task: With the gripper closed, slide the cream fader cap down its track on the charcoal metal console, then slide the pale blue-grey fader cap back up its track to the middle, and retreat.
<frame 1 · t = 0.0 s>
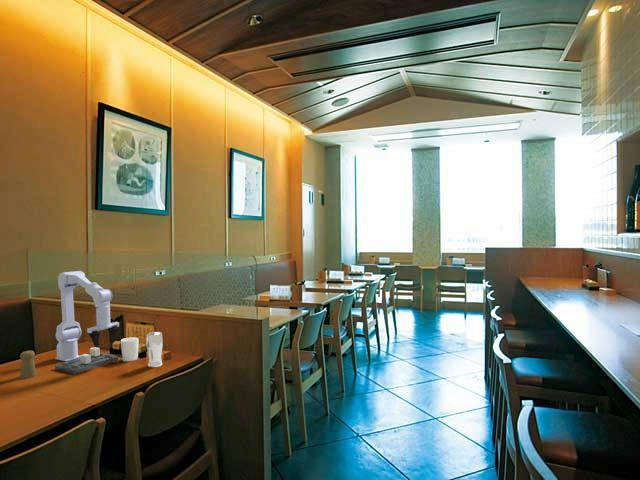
hand: (104, 344, 187), 10 cm above the table, fingers open, 7 cm apart
fader bluegrey: (85, 358, 186), point 4 cm above the table, slide at 9.0 cm
beer glass: (155, 365, 187), on the table
fader cream: (94, 351, 197), point 4 cm above the table, slide at 0.0 cm
tan bulb-headed cylinder: (28, 376, 176), on the table
white cup: (130, 359, 197), on the table
console: (87, 364, 190), on the table
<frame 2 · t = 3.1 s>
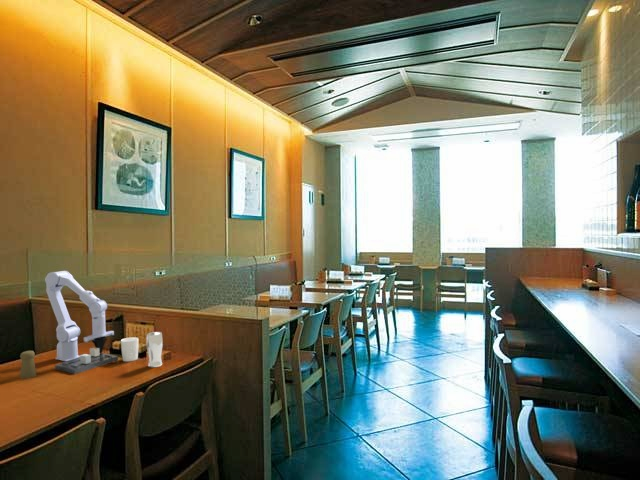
hand: (99, 352, 199), 3 cm above the table, fingers closed
fader cream: (94, 351, 197), point 4 cm above the table, slide at 0.2 cm, touching gripper
everything else where it was.
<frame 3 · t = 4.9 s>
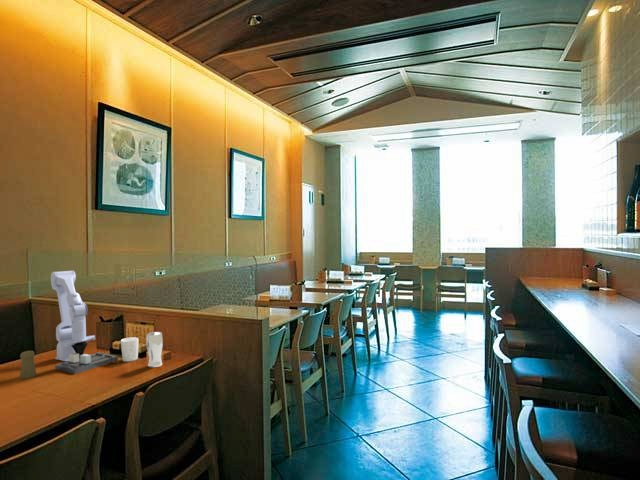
hand: (79, 358, 190), 3 cm above the table, fingers closed
fader cream: (74, 357, 188), point 4 cm above the table, slide at 10.1 cm, touching gripper
everything else where it was.
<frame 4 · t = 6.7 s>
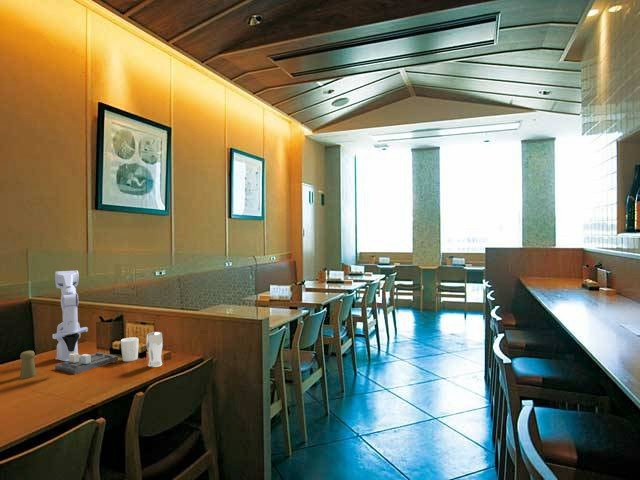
hand: (71, 351, 180), 9 cm above the table, fingers closed
fader cream: (74, 357, 188), point 4 cm above the table, slide at 10.1 cm
everything else where it was.
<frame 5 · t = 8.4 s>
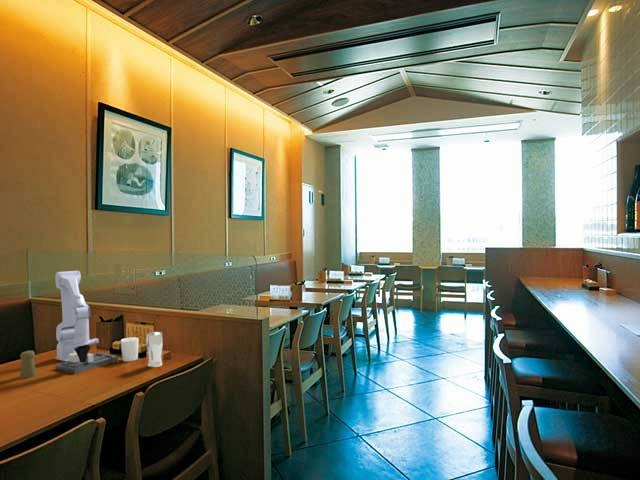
hand: (82, 362, 185), 3 cm above the table, fingers closed
fader bluegrey: (88, 357, 187), point 4 cm above the table, slide at 7.7 cm, touching gripper
everything else where it was.
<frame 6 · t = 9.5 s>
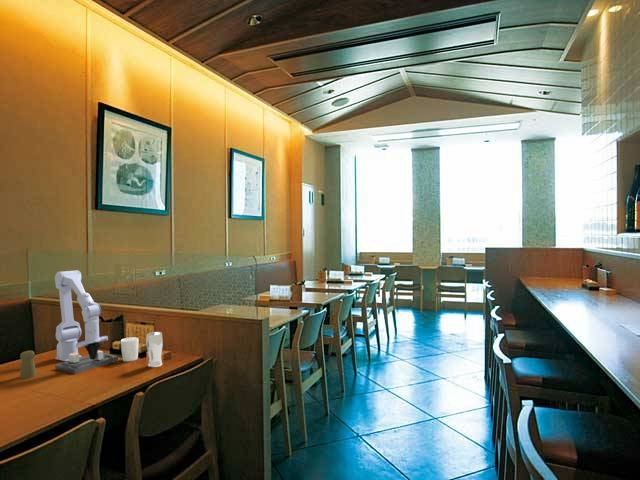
hand: (92, 359, 189), 3 cm above the table, fingers closed
fader bluegrey: (98, 355, 191), point 4 cm above the table, slide at 2.9 cm, touching gripper
everything else where it was.
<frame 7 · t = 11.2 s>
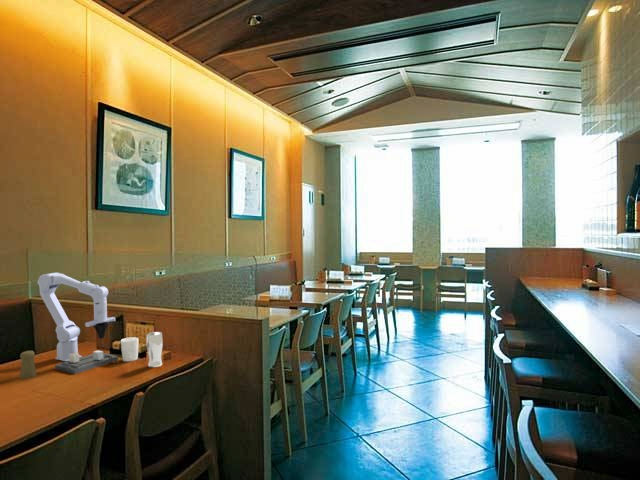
hand: (101, 338, 200), 10 cm above the table, fingers closed
fader bluegrey: (98, 355, 191), point 4 cm above the table, slide at 2.9 cm
everything else where it was.
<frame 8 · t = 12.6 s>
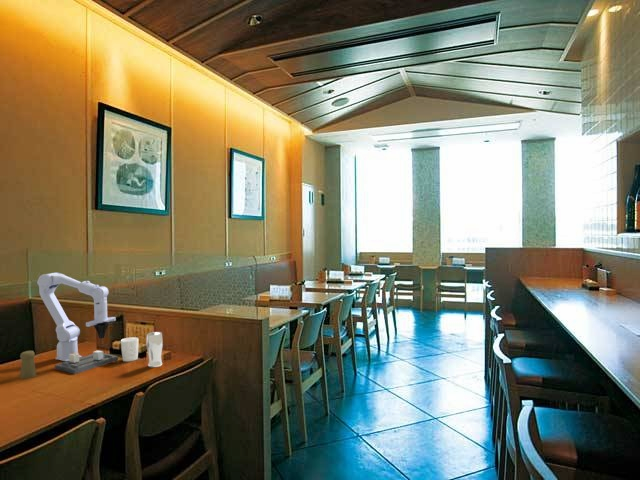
hand: (101, 337, 201), 10 cm above the table, fingers closed
nothing on the table moved.
at the end: fader cream slide at 10.1 cm; fader bluegrey slide at 2.9 cm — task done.
